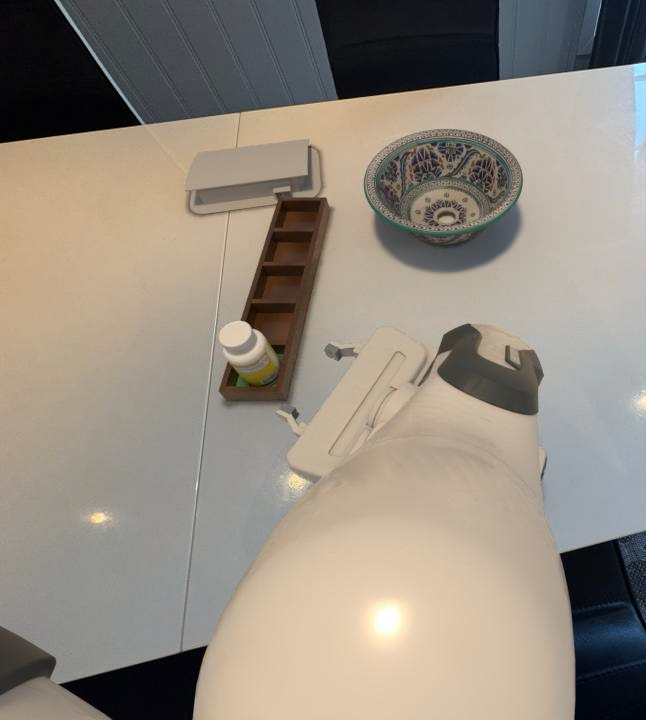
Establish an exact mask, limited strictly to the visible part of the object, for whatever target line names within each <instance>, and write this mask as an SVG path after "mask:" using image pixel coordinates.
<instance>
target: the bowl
mask: <svg viewBox="0 0 646 720" xmlns="http://www.w3.org/2000/svg"><path fill="white" fill-rule="evenodd" d="M523 187H524V176H523V171H522V167H521V164H520V163H519V161H518V159H517V157H516V156H515V154H513V153H512V152H511V151H510V150H509V148H507V147H506V146H504V145H503V144H502V143H500V142H499V141H497V140H495V139H493V138H491V137H489V136H487V135H484V134H482V133H478V132H475V131H471V130H465V129H457V128H436V129H428V130H427V129H426V130H422V131H418V132H417V131H416V132H414V133H410V134H408V135H405V136H403V137H401V138H398V139H396V140H394V141H392V142H391V143H389V144H388V145H386V146H385V147H383V148H382V149H381V150H380V151H379V152H378V153H376V155H375V156H374V157H373V158H372V159H371V161H370V163H369V164H368V165H367V168H366V170H365V173H364V177H363V192H364V196H365V199H366V201H367V203H368V205H369V207H370V209H372V210H373V212H374V213H375V214H377V216H378V217H379V218H380V219H382V220H383V221H384V222H386V223H387V224H389V225H391V226H393V227H395V228H397V229H399V230H402V231H404V232H406V233H407V234H409V235H410V236H412V237H414V238H416V239H418V240H421V241H422V242H427V243H431V244H437V245H446V246H448V245H454V244H458V243H462V242H465V241H468V240H470V239H473V238H475V237H477V236H478V235H480V234H482V233H483V232H485V230H486V229H488V227H489V226H491V225H493V224H494V223H496V222H498V221H499V220H502V218H504V217H505V216H506V215H507V214H509V213H510V211H511V210H512V209H513V208H514V206H515V205H516V204H517V202H518V200H519V199H520V197H521V193H522V190H523ZM442 213H451V214H453V215H454V220H453V221H450V222H441V220H439V219H438V217H439V216H440V214H442Z"/></svg>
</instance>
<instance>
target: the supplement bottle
mask: <svg viewBox="0 0 646 720" xmlns="http://www.w3.org/2000/svg"><path fill="white" fill-rule="evenodd" d="M218 341H219V343H220V344H221V346H222V354H223V356H224V358H225V360H226V361H227V362H229V363H230V364H231V365H232V367H233V368H234V369H235V370H236V371H237V372H238V374H239V375H240V376H241V377H242V378H243V380H244V381H245V382H246V383H247V384H248V385H250V386H271V385H273V384H274V383H276V382H277V379H278V375H279V371H280V366H281V360H280V359H279V357H278V356H277V354H276V353H275V351H274V350H273V348H272V347H271V345H270V344H269V342H268V341H267V339H266V338H265V337H264V335H263V334H262V333H261V332H259V331H258V330H255V329H252V328H251V326H250V325H249V324H248V323H246V322H244V321H240V320H234V321H230V322H229V323H227V324H226V325H224V326H223V327H222V328H221V330H220V331H219V333H218Z"/></svg>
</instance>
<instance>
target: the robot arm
mask: <svg viewBox="0 0 646 720" xmlns="http://www.w3.org/2000/svg"><path fill="white" fill-rule="evenodd" d="M323 352H324V353H325V355H326V356H327V357H328V358H330V359H333V360H334V361H337V362H340V361H341V360H342V358H346V357H347V358H349V357H350V358H351V357H353V358H355V359H354V360H353V361H352V363H351V365H349V367H348V368H347V370H346V371H345V373H344V374H343V376H342V377H341V378H340V380H339V381H338V382H337V384H336V385H335V387H334V388H333V390H332V391H331V392H330V394H329V395H328V396H327V398H326V399H325V401H324V402H323V403H322V405H321V406H320V407H319V409H318V410H317V412H316V413H315V414H314V416H313V417H312V419H311V420H310V421H309V423H308V424H307V423H306V422H303V421H301V422H299V423H298V421H297V419H298V418H299V416H300V412H299V411H298V410H297V408H296V407H295V406H292V405H289V404H288V403H286V402H283V403H282V404H281V405H280V407H279V408H278V409H277V410H276V412H275V414H276V416H277V417H278V419H280V420H281V421H284V422H286V423H287V424H289V426H290V428H291V430H292V433H293V434H295V436H296V437H297V440H296V441H295V443H294V444H293V445H292V446H291V448H290V449H289V450H288V452H287V453H286V456H285V459H286V464H287V466H288V468H289V469H290V470H291V471H292V473H293V474H294V475H296V476H297V477H299V478H301V479H302V480H305V481H308V482H309V483H312V484H313V485H312V486H311V487H310V488H309V489H308V490H307V491H306V492H305V493H304V494H303V495H302V496H301V497H300V498H299V499H298V500H297V501H296V502H295V504H294V505H292V507H291V509H289V511H288V512H287V513H286V514H285V516H284V517H283V518H282V519H281V520H280V521H279V523H278V524H277V526H276V527H275V528H274V529H273V530H272V532H271V533H270V534H269V536H267V538H266V540H265V541H264V542H263V544H262V546H261V548H260V549H259V550H258V552H257V554H256V555H255V557H254V558H253V559H252V561H251V563H250V564H249V566H248V567H247V569H246V570H245V572H244V573H243V575H242V577H241V578H240V580H239V582H238V584H237V586H236V588H235V589H234V591H233V593H232V595H231V596H230V598H229V599H228V602H227V603H226V605H225V606H224V607H225V608H224V609H223V611H222V613H221V615H220V616H219V618H218V620H217V622H216V625H215V627H214V630H213V632H212V634H211V637H210V639H209V641H208V644H207V647H206V650H205V652H204V655H203V658H202V661H201V666H200V669H199V674H198V678H197V680H196V681H197V682H196V685H195V696H194V704H193V714H192V720H575V713H576V712H575V710H576V653H575V639H574V626H573V617H572V606H571V600H570V594H569V589H568V584H567V579H566V574H565V569H564V565H563V562H562V558H561V554H560V551H559V547H558V544H557V542H556V539H555V535H554V532H553V530H552V527H551V525H550V523H549V521H548V518H547V515H546V514H547V513H546V510H545V503H544V496H543V495H544V494H543V488H542V482H543V479H544V476H545V472H546V471H545V470H546V468H547V462H548V457H547V456H548V455H547V450H546V448H545V447H543V445H540V433H539V432H540V430H539V429H540V428H539V418H538V413H539V387H540V385H541V383H542V381H543V379H544V376H545V373H544V370H543V367H542V364H541V361H540V359H539V357H538V354H537V353H536V350H534V349H533V348H531V346H530V345H529V344H528V343H526V342H525V341H524V340H523V339H522V338H520V337H519V336H517V335H516V334H514V333H512V332H510V331H508V330H505V329H503V328H500V327H497V326H495V325H490V324H487V323H486V324H485V323H469V322H468V323H465V324H461V325H459V326H456V327H454V328H453V329H450V330H449V331H447V332H445V333H444V334H443V335H442V338H441V341H440V343H439V346H438V348H437V347H435V346H432V345H430V344H427V343H425V342H419V341H418V340H416V339H415V338H413V337H412V336H410V335H408V334H406V333H404V332H403V331H401V330H398V329H397V328H394V327H393V326H391V325H384V326H383V325H382V326H379V327H377V328H376V330H375V331H374V332H373V333H372V335H371V337H370V338H369V339H368V340H367V342H366V343H365V344H363V343H360V342H350V343H342V344H341V343H339V342H337V341H334V340H330V341H329V342H328V344H327V345H326V346H325V348H324V349H323ZM56 666H57V657H55V656H53V655H52V654H50V653H49V652H47V651H45V650H44V649H42V648H41V647H39V646H38V645H35V644H34V643H32V642H31V641H29V640H27V639H26V638H24V637H22V636H21V635H19V634H17V633H15V632H13V631H11V630H9V629H7V628H5V627H3V626H2V625H0V720H113V719H112V718H111V717H110V716H108V715H106V713H104V712H102V711H101V710H100V709H97V708H96V707H94V706H93V705H91V704H89V703H88V702H87V701H85V700H83V699H81V698H80V697H78V696H77V695H76V694H74V693H73V692H71V691H69V690H67V689H66V688H65V687H63V686H61V685H59V684H58V683H57V682H55V681H53V680H52V679H51V677H52V675H53V672H54V670H55V668H56Z"/></svg>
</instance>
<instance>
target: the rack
mask: <svg viewBox="0 0 646 720" xmlns="http://www.w3.org/2000/svg"><path fill="white" fill-rule="evenodd" d="M330 213H331V208H330V205H329V201H328V198H327V197H325V196H324V197H323V196H321V197H319V196H318V197H317V196H315V197H279V198H278V201H277V204H275V208H274V211H273V215H272V217H271V221H270V224H269V227H268V231H267V234H266V237H265V241H264V242H263V243H264V244H263V247H262V250H261V253H260V256H259V259H258V263H257V266H256V269H255V273H254V276H253V279H252V282H251V285H250V288H249V292H248V295H247V298H246V301H245V304H244V308H243V311H242V314H241V317H240V320H239V321H244V322H246V323H248V324H249V325H250V326H251V328H252V329H255V330H258V331H259V332H261V333H262V334H263V335H264V337H265V338H266V339H267V341H268V342H269V344H270V345H271V347H272V348H273V350H274V351H275V353H276V354H277V356H278V357H279V359H280V360H281V366H280V371H279V375H278V379H277V382H276V383H274V384H273V385H271V386H250V385H248V384H247V383H246V382H245V381H244V380H243V378H242V377H241V376H240V375H239V374H238V372H237V371H236V370H235V369H234V368H233V367H232V365H231V364H230V363H229V362H228V361H227V363H226V366H225V369H224V372H223V375H222V378H221V382H220V385H219V388H218V393H219V394H220V395H221V396H222V398H224V399H225V400H226V402H288V399H289V393H290V389H291V385H292V381H293V376H294V372H295V369H296V368H295V367H296V363H297V358H298V355H299V349H300V346H301V341H302V337H303V332H304V328H305V323H306V319H307V315H308V311H309V306H310V301H311V297H312V292H313V287H314V285H315V284H314V283H315V280H316V275H317V270H318V266H319V261H320V257H321V253H322V248H323V244H324V239H325V235H326V230H327V227H328V222H329V218H330V215H331V214H330Z"/></svg>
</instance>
